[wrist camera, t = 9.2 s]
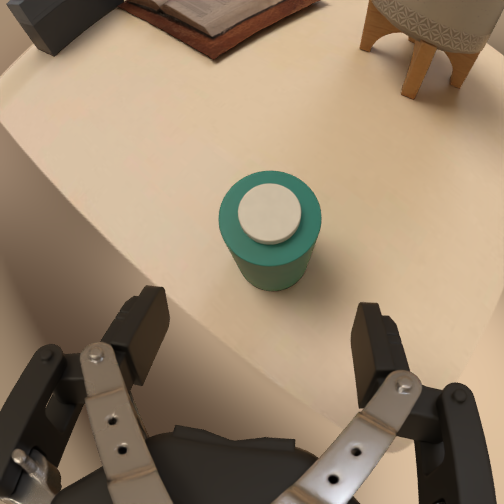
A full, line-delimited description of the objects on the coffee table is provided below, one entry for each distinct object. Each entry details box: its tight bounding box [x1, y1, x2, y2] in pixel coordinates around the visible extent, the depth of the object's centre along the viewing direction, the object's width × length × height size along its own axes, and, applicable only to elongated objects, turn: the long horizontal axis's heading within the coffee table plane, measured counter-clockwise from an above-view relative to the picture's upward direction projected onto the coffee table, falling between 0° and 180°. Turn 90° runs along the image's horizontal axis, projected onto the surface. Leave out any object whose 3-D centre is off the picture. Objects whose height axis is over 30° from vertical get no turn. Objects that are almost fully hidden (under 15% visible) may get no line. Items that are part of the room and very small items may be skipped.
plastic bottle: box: [219, 171, 321, 291], centre depth 21 cm, size 5×5×9 cm
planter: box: [360, 0, 504, 99], centre depth 21 cm, size 13×13×18 cm
